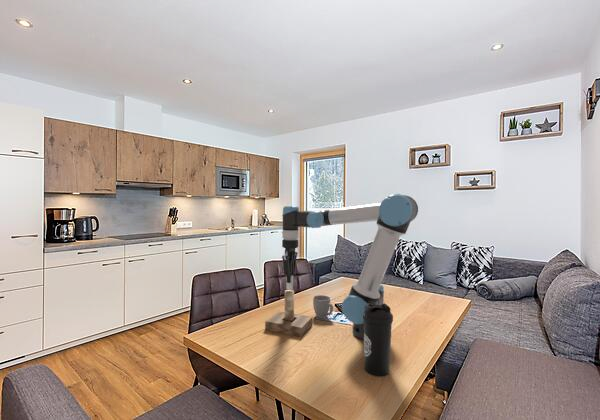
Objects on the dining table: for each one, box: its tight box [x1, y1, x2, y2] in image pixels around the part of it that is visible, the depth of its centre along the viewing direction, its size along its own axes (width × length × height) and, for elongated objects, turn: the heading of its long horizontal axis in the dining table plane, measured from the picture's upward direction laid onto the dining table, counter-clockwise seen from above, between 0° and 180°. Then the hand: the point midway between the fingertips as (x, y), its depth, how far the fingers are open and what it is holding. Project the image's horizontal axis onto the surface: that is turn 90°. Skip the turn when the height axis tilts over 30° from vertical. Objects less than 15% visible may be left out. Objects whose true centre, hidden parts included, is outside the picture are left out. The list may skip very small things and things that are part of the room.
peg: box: [284, 289, 295, 322], centre depth 141 cm, size 4×4×16 cm
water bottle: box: [363, 303, 394, 377], centre depth 106 cm, size 10×10×23 cm
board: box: [264, 310, 313, 337], centre depth 141 cm, size 18×14×4 cm
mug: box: [312, 294, 334, 319], centre depth 155 cm, size 12×9×10 cm
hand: (289, 289), depth 141 cm, fingers closed
